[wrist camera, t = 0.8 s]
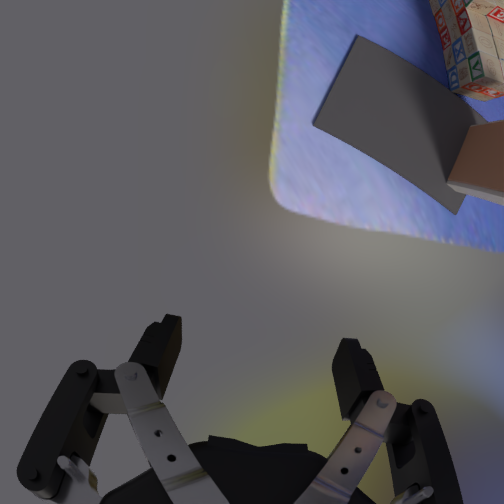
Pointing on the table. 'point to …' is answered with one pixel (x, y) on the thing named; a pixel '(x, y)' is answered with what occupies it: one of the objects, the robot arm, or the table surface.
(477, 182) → the tile
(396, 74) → the mat
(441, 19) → the stack of blocks
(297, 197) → the table surface
